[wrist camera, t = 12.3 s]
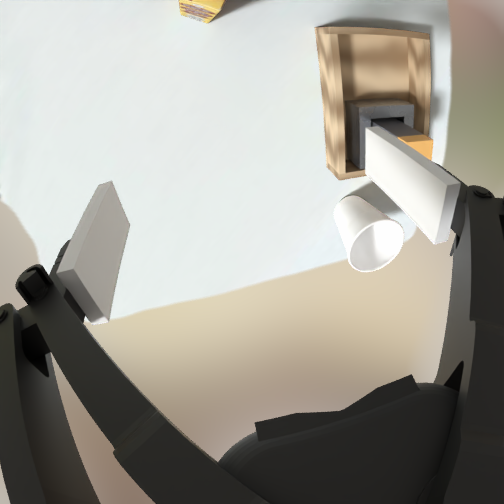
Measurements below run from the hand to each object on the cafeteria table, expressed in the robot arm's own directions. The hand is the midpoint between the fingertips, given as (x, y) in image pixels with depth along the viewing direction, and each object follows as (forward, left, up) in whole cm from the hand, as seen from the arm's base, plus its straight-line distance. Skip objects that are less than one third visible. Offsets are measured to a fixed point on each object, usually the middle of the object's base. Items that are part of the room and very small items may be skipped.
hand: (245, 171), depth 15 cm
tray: (+4, +23, -29) cm, 37 cm away
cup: (+24, +19, -29) cm, 42 cm away
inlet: (+9, +23, -29) cm, 38 cm away
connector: (+9, +23, -28) cm, 37 cm away
